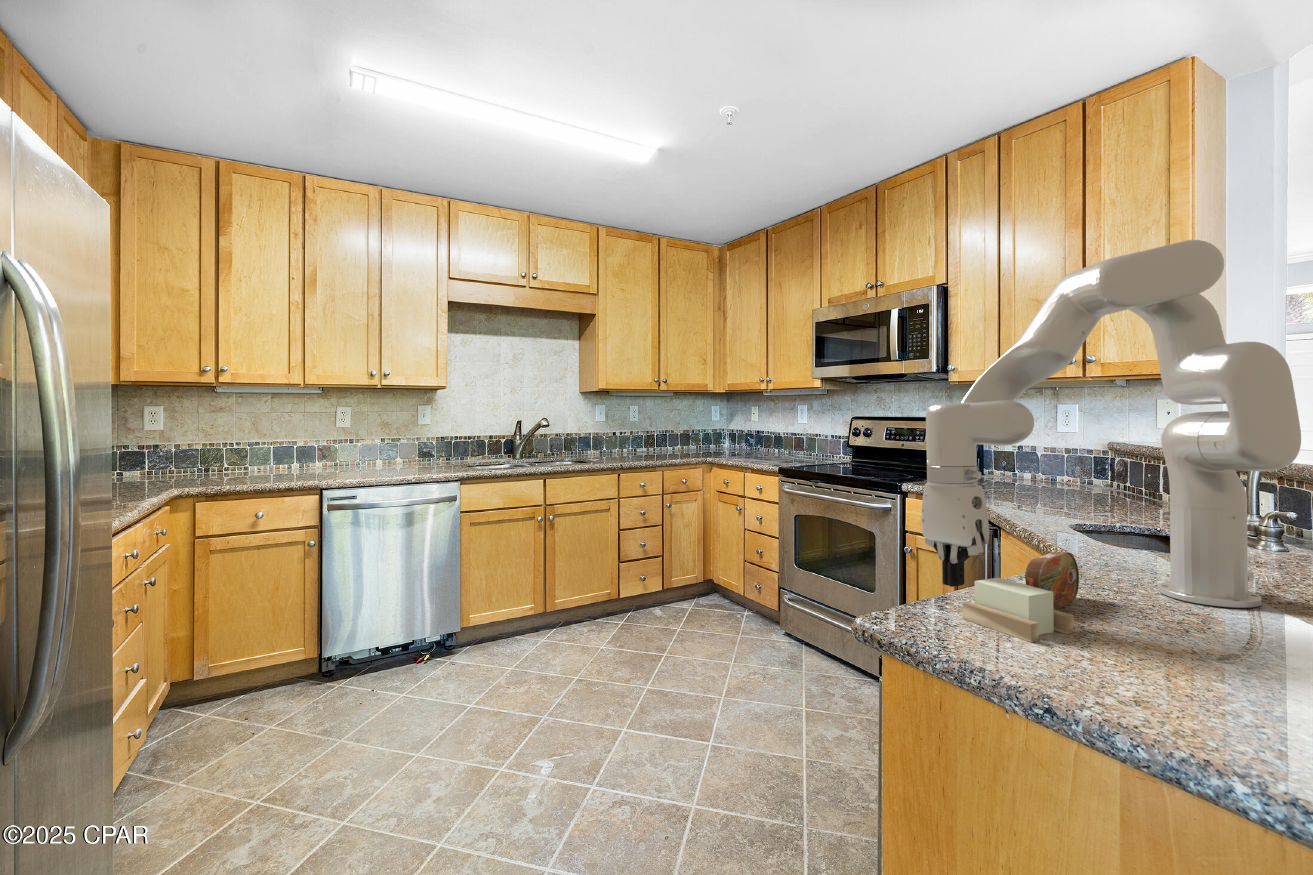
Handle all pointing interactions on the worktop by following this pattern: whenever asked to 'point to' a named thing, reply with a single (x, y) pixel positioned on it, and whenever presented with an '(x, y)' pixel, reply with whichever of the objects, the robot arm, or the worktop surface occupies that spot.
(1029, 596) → the block
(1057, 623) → the chute
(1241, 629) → the worktop surface
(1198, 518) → the robot arm
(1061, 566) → the tin
